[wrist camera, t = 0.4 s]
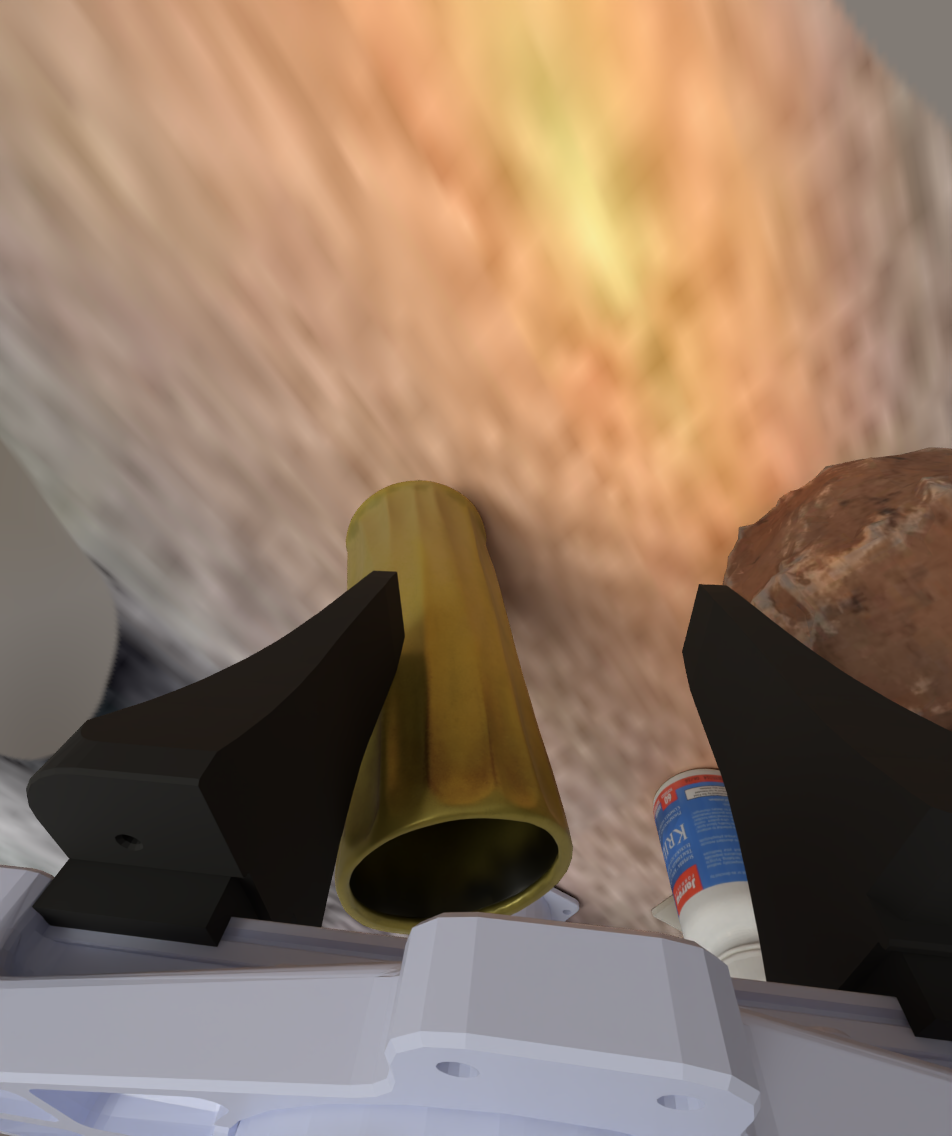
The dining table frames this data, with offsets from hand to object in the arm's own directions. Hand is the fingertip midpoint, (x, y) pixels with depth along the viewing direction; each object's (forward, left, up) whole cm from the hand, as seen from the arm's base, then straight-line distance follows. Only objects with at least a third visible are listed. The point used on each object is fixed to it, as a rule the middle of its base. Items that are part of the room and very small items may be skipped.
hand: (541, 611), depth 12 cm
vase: (-5, +3, -10) cm, 11 cm away
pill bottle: (-10, -18, -11) cm, 23 cm away
